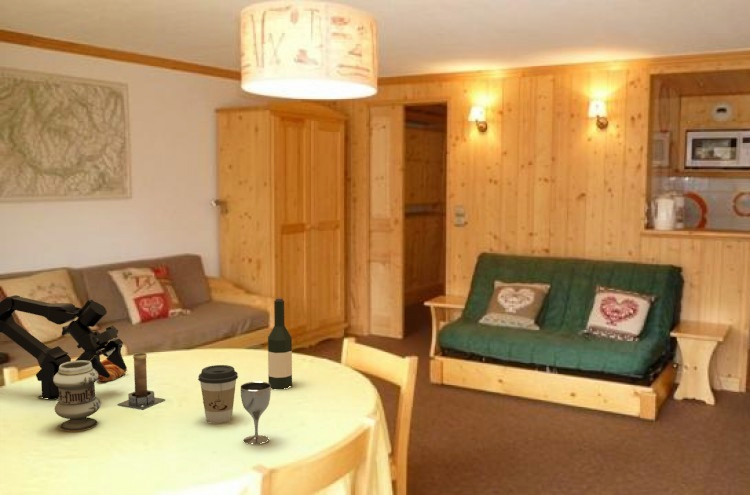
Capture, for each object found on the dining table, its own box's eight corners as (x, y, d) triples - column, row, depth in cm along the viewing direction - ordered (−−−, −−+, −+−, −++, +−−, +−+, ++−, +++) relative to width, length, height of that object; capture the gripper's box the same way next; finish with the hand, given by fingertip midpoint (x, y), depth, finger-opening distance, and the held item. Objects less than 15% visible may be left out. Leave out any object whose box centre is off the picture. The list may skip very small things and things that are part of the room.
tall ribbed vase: (132, 403, 222) (130, 355, 220) (138, 399, 225) (137, 352, 224) (143, 403, 221) (142, 356, 219) (150, 399, 225) (148, 353, 223)
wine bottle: (288, 390, 236) (287, 301, 233) (264, 389, 237) (262, 300, 234) (295, 383, 244) (295, 296, 241) (272, 381, 246) (271, 295, 242)
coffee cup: (199, 427, 202) (198, 376, 200) (198, 414, 212) (197, 365, 211) (240, 424, 205) (239, 373, 203) (237, 411, 216) (236, 362, 214)
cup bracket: (142, 409, 217) (142, 400, 216) (117, 405, 221) (117, 396, 220) (165, 400, 226) (164, 391, 225) (140, 396, 230) (140, 387, 229)
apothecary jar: (56, 421, 207) (54, 360, 205) (101, 416, 211) (99, 356, 209) (54, 435, 195) (51, 371, 194) (101, 430, 200) (98, 367, 198)
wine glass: (257, 432, 198) (257, 379, 197) (277, 439, 193) (276, 385, 192) (235, 440, 192) (234, 386, 190) (255, 448, 187) (254, 392, 185)
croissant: (113, 376, 264) (102, 358, 263) (137, 364, 264) (127, 345, 263) (94, 393, 242) (82, 373, 242) (120, 379, 242) (108, 359, 242)
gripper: (82, 325, 214) (117, 364, 213) (117, 313, 232) (148, 349, 231) (60, 349, 216) (94, 388, 215) (95, 336, 235) (127, 371, 234)
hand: (117, 372), depth 224 cm, fingers open, 9 cm apart
